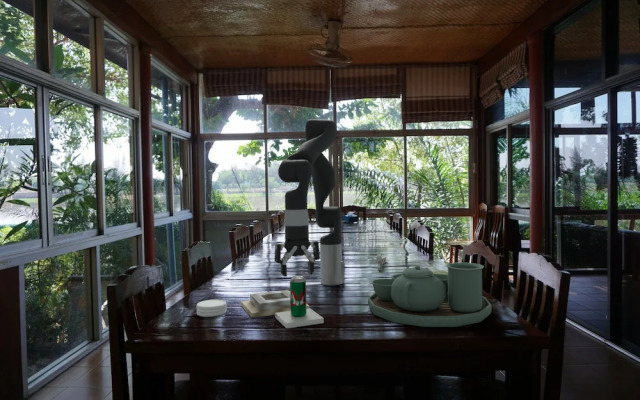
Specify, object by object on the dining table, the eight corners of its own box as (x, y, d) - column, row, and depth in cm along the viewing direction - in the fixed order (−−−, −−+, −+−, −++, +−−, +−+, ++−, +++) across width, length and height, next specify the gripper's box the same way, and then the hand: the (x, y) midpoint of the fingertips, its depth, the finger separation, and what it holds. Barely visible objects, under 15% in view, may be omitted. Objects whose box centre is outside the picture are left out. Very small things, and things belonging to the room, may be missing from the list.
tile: (309, 312, 146) (309, 308, 146) (323, 322, 135) (323, 318, 135) (275, 317, 142) (275, 312, 142) (286, 328, 131) (286, 323, 131)
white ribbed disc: (193, 311, 151) (193, 301, 151) (221, 307, 156) (221, 297, 156) (201, 319, 142) (200, 308, 142) (230, 314, 147) (230, 303, 147)
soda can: (306, 312, 141) (305, 275, 141) (307, 317, 136) (306, 278, 136) (290, 313, 141) (289, 276, 141) (290, 318, 136) (289, 279, 136)
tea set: (478, 296, 164) (478, 252, 164) (502, 332, 125) (501, 274, 124) (371, 293, 172) (371, 251, 171) (362, 326, 132) (361, 272, 132)
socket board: (294, 299, 164) (294, 288, 164) (309, 310, 150) (309, 298, 149) (241, 305, 157) (241, 294, 157) (251, 317, 142) (251, 305, 142)
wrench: (386, 267, 240) (380, 271, 211) (382, 267, 240) (376, 271, 211) (386, 252, 241) (380, 254, 212) (382, 252, 241) (376, 254, 212)
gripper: (278, 226, 131) (279, 279, 132) (322, 223, 137) (323, 275, 137) (271, 224, 138) (272, 274, 139) (313, 221, 144) (314, 270, 144)
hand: (297, 274), depth 138 cm, fingers open, 8 cm apart
